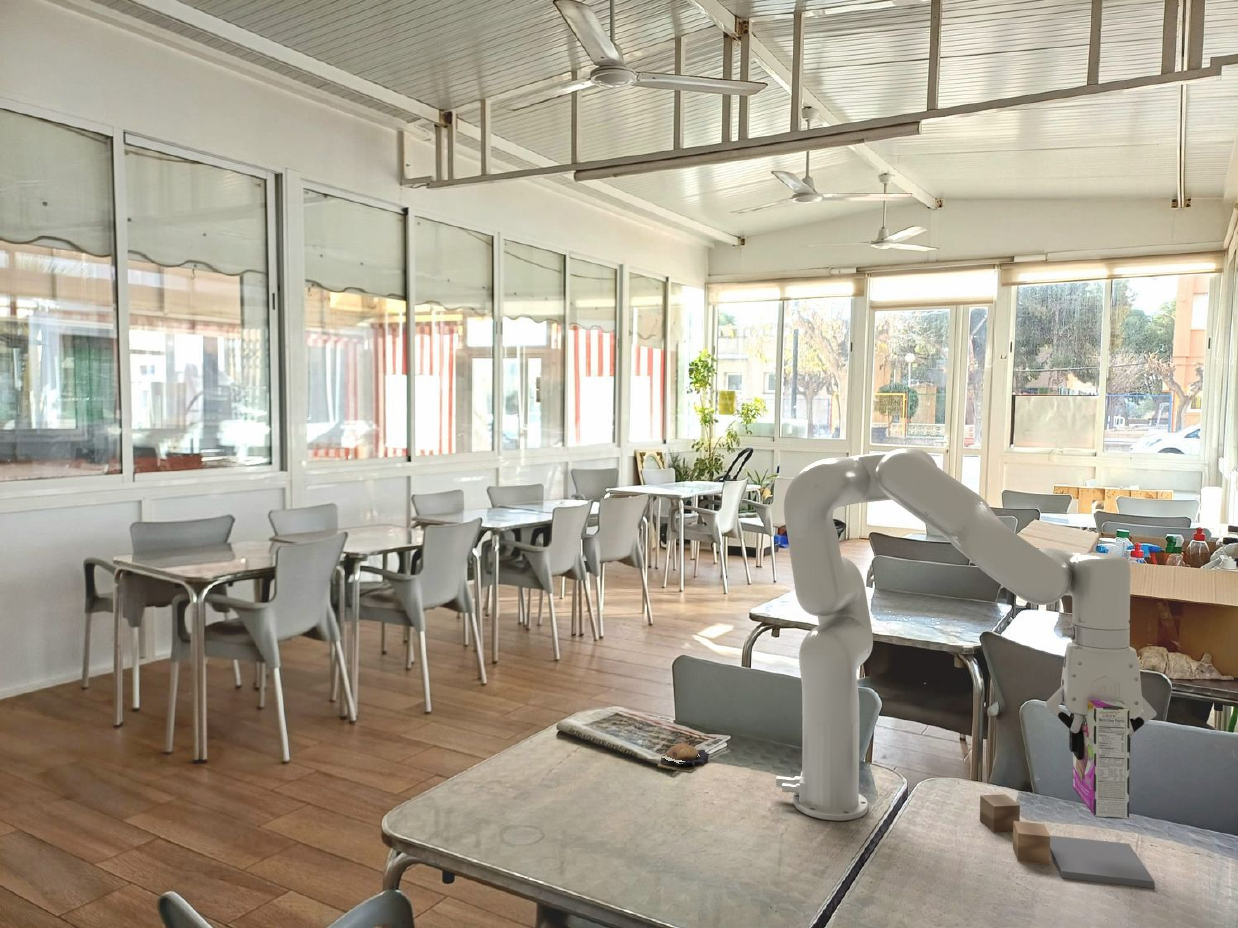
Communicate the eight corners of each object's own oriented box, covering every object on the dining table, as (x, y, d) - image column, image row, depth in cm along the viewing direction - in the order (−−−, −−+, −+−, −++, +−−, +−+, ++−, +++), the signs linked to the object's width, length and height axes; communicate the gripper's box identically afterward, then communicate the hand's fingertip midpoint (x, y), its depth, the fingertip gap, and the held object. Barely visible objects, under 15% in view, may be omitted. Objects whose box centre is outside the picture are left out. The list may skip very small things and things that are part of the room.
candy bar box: (1069, 787, 139) (1070, 683, 138) (1104, 790, 138) (1105, 685, 137) (1092, 818, 128) (1093, 704, 127) (1130, 820, 127) (1132, 706, 126)
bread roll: (692, 777, 169) (692, 758, 168) (653, 768, 173) (653, 749, 173) (715, 758, 178) (715, 740, 178) (677, 751, 182) (677, 733, 182)
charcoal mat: (1061, 877, 129) (1061, 870, 129) (1044, 840, 141) (1044, 834, 141) (1154, 888, 126) (1154, 881, 126) (1128, 849, 138) (1129, 843, 138)
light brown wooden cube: (1017, 861, 134) (1018, 833, 134) (1012, 848, 138) (1013, 820, 138) (1049, 865, 133) (1050, 836, 133) (1043, 852, 137) (1044, 823, 137)
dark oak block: (993, 833, 144) (993, 806, 143) (979, 821, 148) (980, 795, 148) (1019, 831, 144) (1019, 805, 144) (1004, 820, 148) (1005, 794, 148)
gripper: (1043, 639, 131) (1042, 762, 131) (1174, 646, 126) (1172, 772, 127) (1033, 629, 138) (1032, 745, 139) (1156, 634, 134) (1155, 754, 134)
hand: (1099, 757), depth 133 cm, fingers closed on candy bar box, 5 cm apart
